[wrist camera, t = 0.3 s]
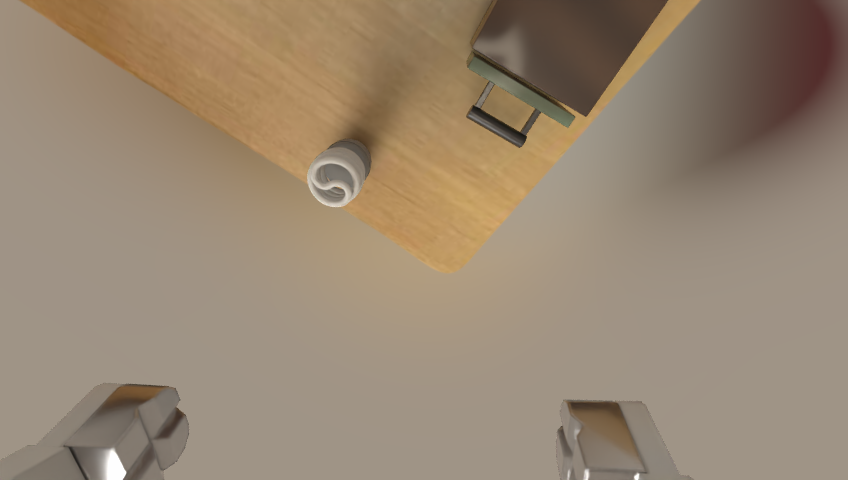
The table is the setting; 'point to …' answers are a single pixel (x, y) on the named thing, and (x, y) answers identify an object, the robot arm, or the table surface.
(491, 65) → the drawer
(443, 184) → the table surface
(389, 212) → the table surface
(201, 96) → the table surface
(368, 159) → the light bulb
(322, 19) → the table surface
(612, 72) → the cabinet
